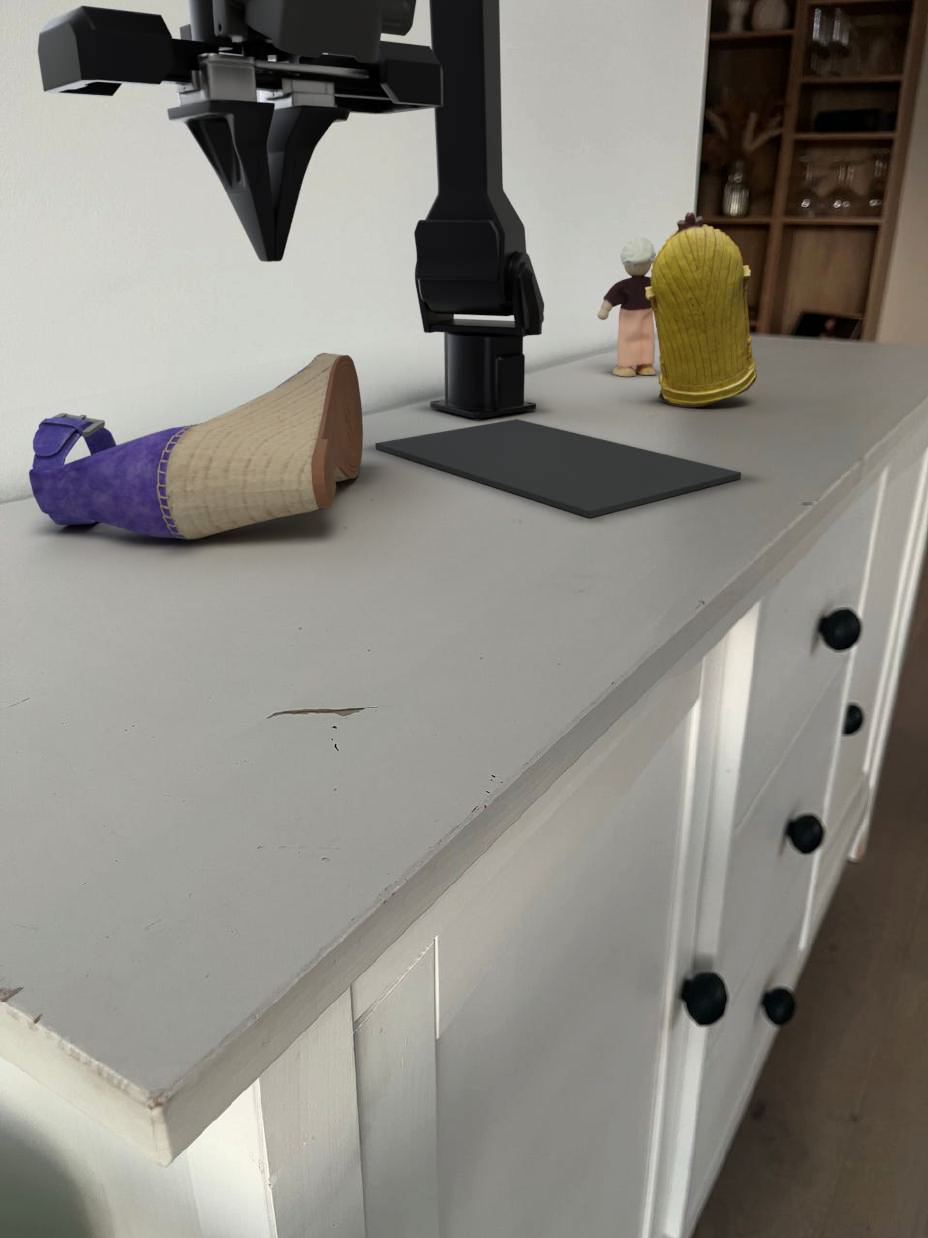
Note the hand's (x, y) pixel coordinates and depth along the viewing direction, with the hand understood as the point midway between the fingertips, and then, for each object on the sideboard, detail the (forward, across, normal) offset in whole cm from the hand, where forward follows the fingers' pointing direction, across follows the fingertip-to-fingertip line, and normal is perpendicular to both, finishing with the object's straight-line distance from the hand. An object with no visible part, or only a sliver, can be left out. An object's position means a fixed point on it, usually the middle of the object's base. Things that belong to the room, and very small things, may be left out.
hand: (270, 261), depth 50 cm
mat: (+13, +18, -2) cm, 22 cm away
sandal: (+10, +4, -1) cm, 10 cm away
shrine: (+13, +41, +4) cm, 43 cm away
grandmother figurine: (+13, +49, +19) cm, 54 cm away
